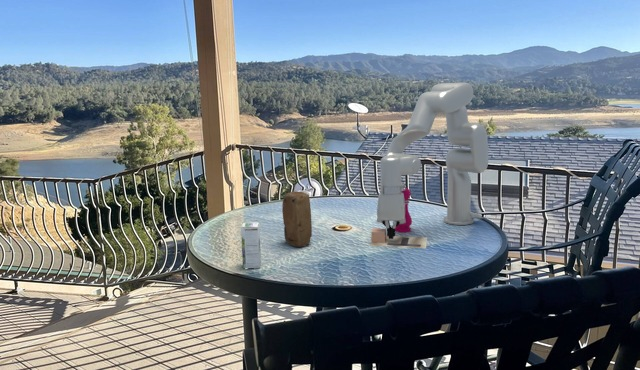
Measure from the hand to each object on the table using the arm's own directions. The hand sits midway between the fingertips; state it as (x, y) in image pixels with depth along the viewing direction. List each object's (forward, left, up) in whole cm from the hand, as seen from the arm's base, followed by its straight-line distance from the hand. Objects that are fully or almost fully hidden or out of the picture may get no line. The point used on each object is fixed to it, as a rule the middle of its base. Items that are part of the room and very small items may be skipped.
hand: (391, 237), depth 176 cm
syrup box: (+43, +31, -2) cm, 53 cm away
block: (+35, +6, -2) cm, 36 cm away
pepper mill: (-3, -15, -2) cm, 15 cm away
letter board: (-3, 0, -2) cm, 4 cm away
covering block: (+5, 0, -1) cm, 5 cm away
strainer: (+42, -23, -2) cm, 48 cm away
